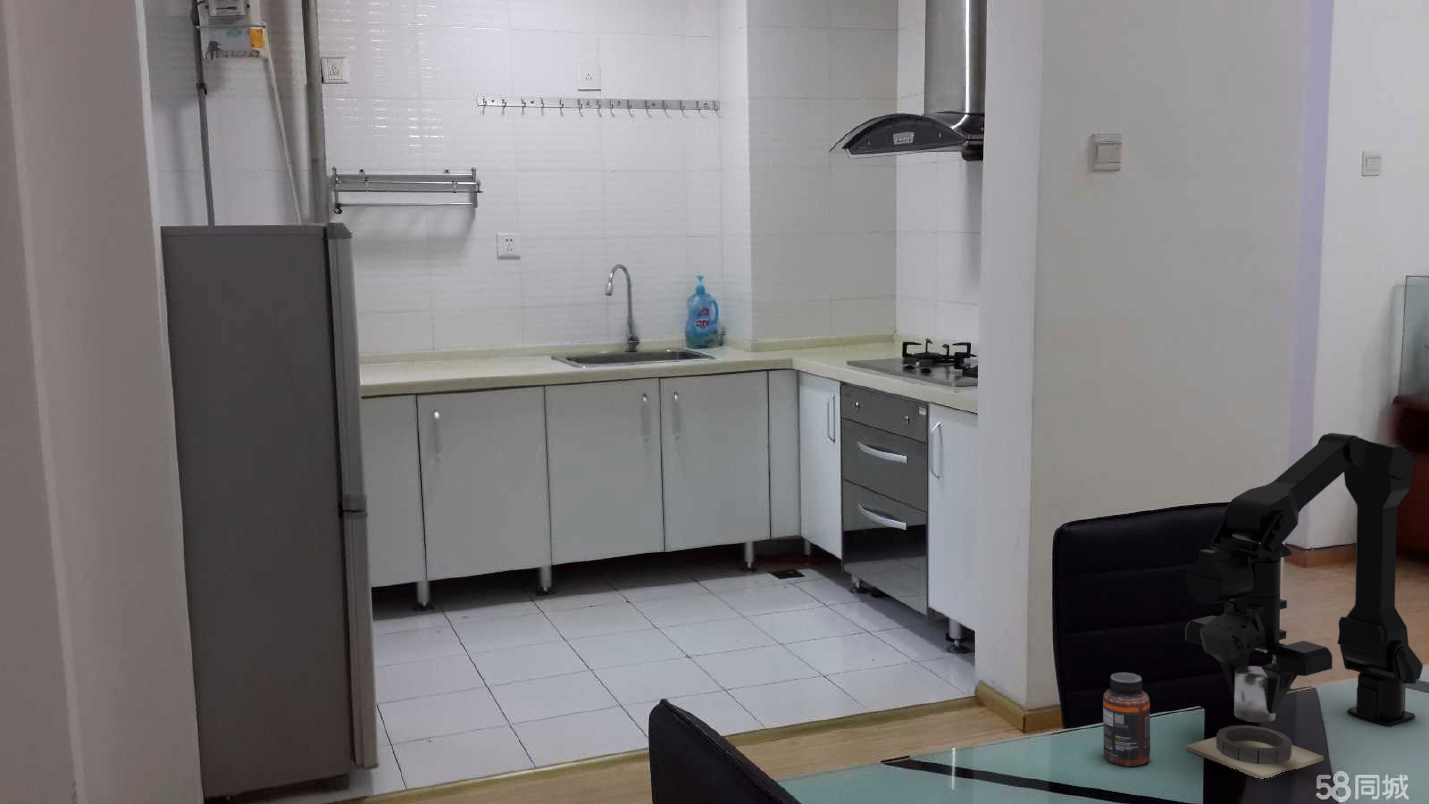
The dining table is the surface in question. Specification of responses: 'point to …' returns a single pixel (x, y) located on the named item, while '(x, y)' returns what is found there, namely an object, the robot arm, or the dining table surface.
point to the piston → (1251, 695)
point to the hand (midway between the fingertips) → (1254, 707)
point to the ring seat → (1254, 751)
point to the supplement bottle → (1126, 721)
